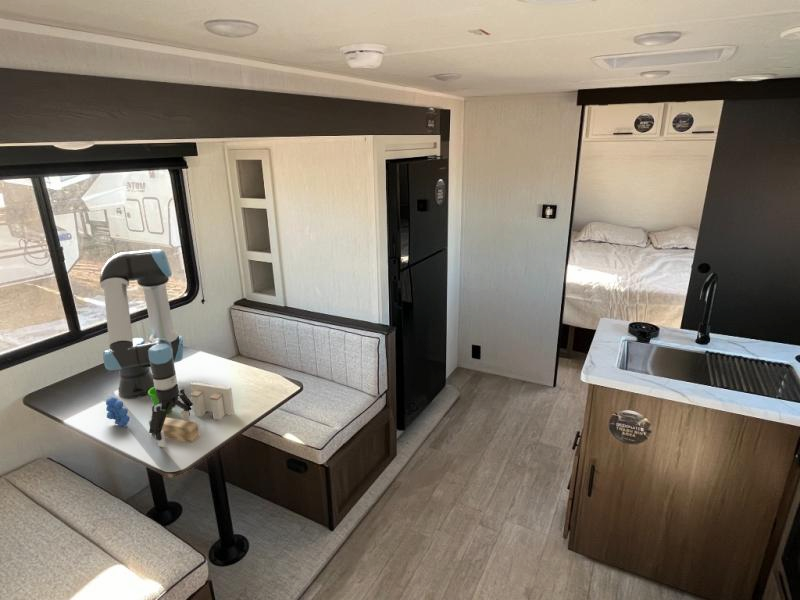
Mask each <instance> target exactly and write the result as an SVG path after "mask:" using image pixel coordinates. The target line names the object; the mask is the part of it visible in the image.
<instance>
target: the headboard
mask: <svg viewBox="0 0 800 600" xmlns="http://www.w3.org/2000/svg"><path fill="white" fill-rule="evenodd" d="M189 385H190V390H191V393H190V395H189V397H190V398H191V402H192V403H193V405H192V410H193V416H194V415H195V417H202V416H203V415H205V413H206V412H210V413H212V417H213V419H214V420H219V419H220V420H222V417H223V416H224V417H225V415H227V414H228V415H227V416H233V415H235V414H234V413H235V407H234V399H233V391H232V387H228V386H222V385H217V384H208V383H201V382H195V381H193V382H191V383H190V384H189ZM224 417H223V418H224Z"/></svg>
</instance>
